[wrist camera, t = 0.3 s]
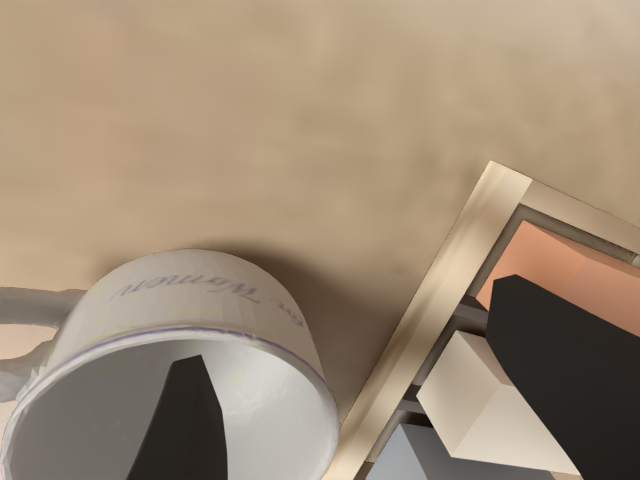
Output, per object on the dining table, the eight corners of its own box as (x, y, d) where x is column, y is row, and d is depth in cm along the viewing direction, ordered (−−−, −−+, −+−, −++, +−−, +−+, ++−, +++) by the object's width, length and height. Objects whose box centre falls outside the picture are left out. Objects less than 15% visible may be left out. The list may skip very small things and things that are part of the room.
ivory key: (544, 420, 28) (593, 476, 24) (415, 395, 24) (451, 456, 21) (586, 365, 27) (643, 416, 23) (456, 329, 23) (500, 383, 20)
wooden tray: (485, 489, 33) (497, 508, 32) (316, 470, 28) (322, 492, 27) (667, 242, 26) (691, 253, 25) (490, 160, 21) (508, 168, 20)
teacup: (342, 313, 23) (400, 435, 16) (198, 439, 25) (194, 602, 18) (116, 116, 17) (52, 175, 10) (-59, 299, 18) (-226, 466, 11)
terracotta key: (605, 338, 26) (668, 386, 22) (475, 298, 22) (525, 347, 19) (653, 274, 25) (728, 314, 21) (523, 220, 21) (586, 257, 18)
